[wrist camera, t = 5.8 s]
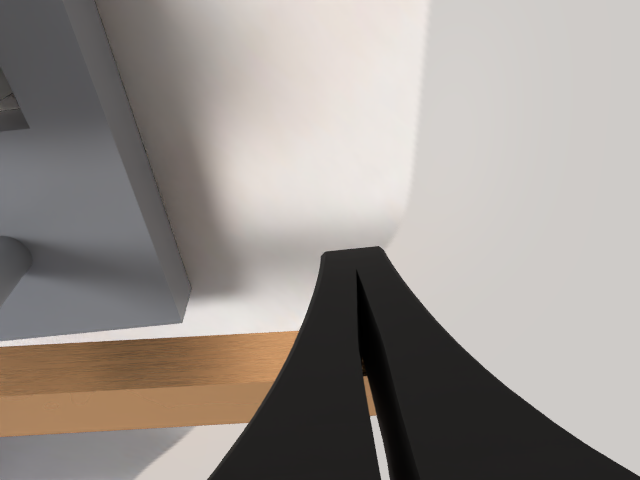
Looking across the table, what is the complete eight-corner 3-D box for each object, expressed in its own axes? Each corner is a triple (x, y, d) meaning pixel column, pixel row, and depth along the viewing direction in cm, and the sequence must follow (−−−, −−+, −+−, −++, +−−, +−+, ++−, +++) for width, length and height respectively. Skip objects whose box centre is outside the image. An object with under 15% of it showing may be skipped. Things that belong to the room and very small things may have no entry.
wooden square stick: (-112, 403, 13) (-155, 456, 12) (-168, 343, 11) (-224, 395, 10) (411, 375, 13) (423, 423, 12) (419, 311, 12) (434, 358, 10)
